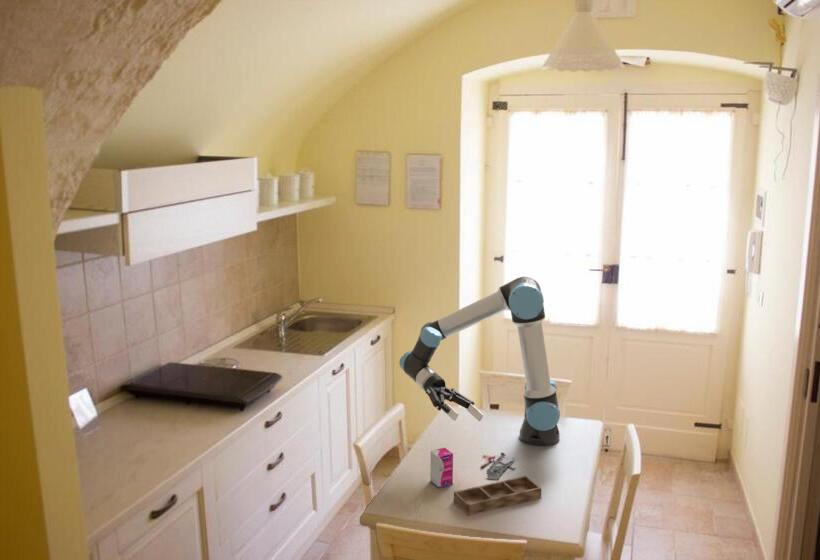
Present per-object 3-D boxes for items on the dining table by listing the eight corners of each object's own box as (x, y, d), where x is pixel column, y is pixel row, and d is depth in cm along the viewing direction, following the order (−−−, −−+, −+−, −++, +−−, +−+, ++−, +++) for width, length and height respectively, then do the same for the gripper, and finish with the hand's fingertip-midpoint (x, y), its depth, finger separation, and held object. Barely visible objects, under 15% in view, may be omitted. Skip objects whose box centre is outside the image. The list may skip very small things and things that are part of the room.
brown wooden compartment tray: (525, 485, 259) (525, 475, 258) (541, 498, 250) (541, 488, 249) (453, 501, 249) (453, 491, 248) (467, 515, 240) (467, 505, 239)
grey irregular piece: (497, 483, 262) (497, 477, 261) (478, 479, 265) (478, 473, 265) (518, 460, 280) (518, 454, 279) (501, 456, 283) (501, 451, 282)
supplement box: (438, 488, 257) (438, 456, 255) (429, 481, 263) (429, 450, 260) (453, 484, 260) (453, 453, 258) (444, 477, 265) (444, 446, 263)
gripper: (448, 392, 285) (486, 427, 272) (402, 389, 267) (440, 426, 254) (458, 375, 284) (496, 409, 270) (412, 371, 266) (450, 407, 252)
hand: (469, 417), depth 262 cm, fingers open, 13 cm apart
